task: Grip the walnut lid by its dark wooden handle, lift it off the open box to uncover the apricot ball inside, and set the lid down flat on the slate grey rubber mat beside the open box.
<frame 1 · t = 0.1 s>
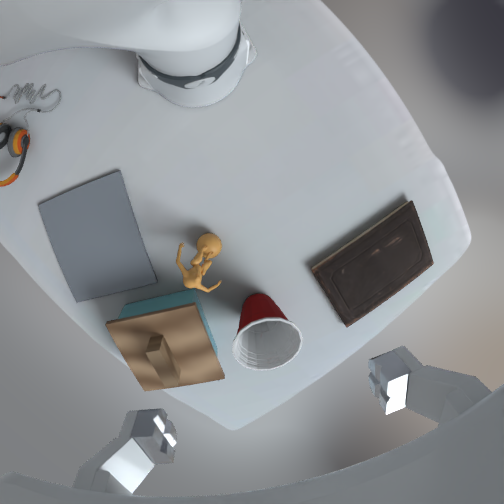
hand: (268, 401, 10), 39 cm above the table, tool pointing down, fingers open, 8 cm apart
open box: (171, 328, 53), on the table
hardcover book: (375, 263, 54), on the table
figurine: (205, 245, 48), on the table
plastic cup: (258, 307, 54), on the table
headphones: (19, 132, 37), on the table
lid: (166, 350, 47), point 7 cm above the table, touching open box
mat: (94, 241, 46), on the table
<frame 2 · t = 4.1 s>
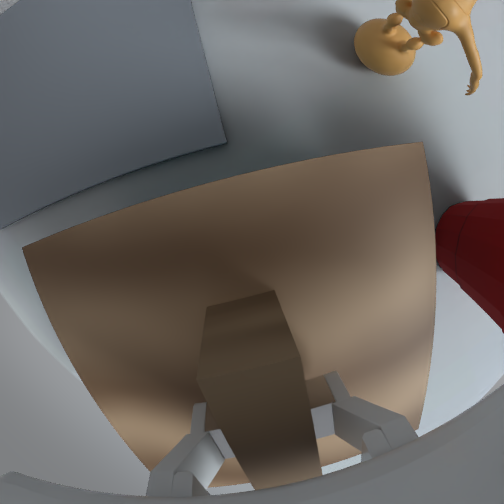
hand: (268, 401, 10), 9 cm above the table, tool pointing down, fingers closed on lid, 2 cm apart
figurine: (361, 63, 15), on the table
plastic cup: (457, 240, 19), on the table
lid: (262, 369, 12), point 7 cm above the table, touching open box, gripper
mat: (69, 56, 13), on the table
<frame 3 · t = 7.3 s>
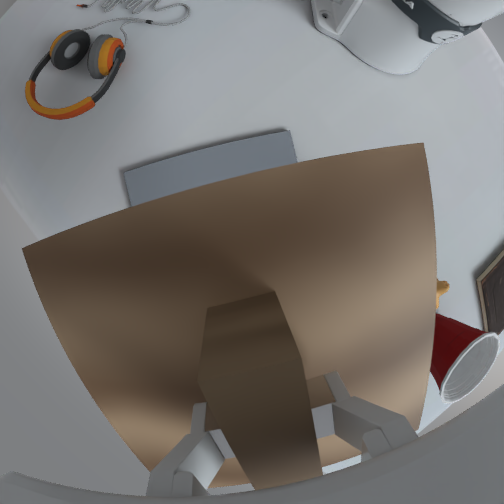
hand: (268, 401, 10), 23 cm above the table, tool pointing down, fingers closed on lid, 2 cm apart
figurine: (390, 251, 33), on the table
plastic cup: (426, 330, 37), on the table
headphones: (102, 51, 25), on the table
lid: (263, 370, 12), point 21 cm above the table, touching gripper
mat: (227, 240, 31), on the table
when the fingers open (4 cm above the table, at t = 10.4 s): lid drops 1 cm, resting on mat.
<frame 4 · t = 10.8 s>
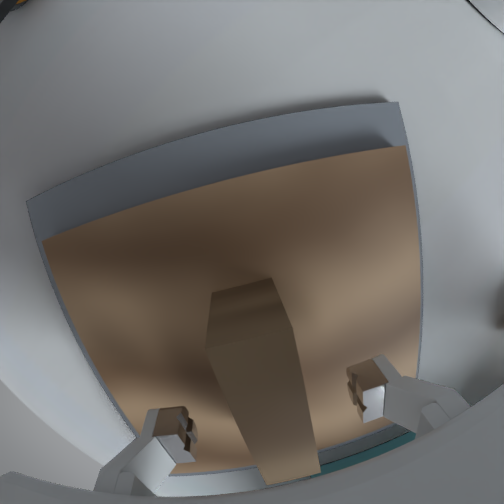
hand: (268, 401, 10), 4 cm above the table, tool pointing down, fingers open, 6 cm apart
open box: (385, 475, 19), on the table
lid: (261, 352, 13), point 1 cm above the table, touching mat
mat: (257, 345, 14), on the table
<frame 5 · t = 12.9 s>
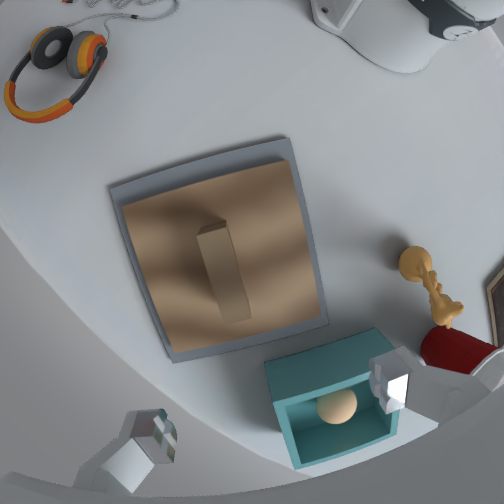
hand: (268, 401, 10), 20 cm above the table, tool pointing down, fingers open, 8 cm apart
open box: (328, 387, 34), on the table
figurine: (399, 264, 31), on the table
plastic cup: (434, 342, 35), on the table
headphones: (85, 49, 22), on the table
ball: (330, 392, 33), point 1 cm above the table, touching open box
lid: (225, 262, 28), point 1 cm above the table, touching mat
mat: (223, 260, 29), on the table
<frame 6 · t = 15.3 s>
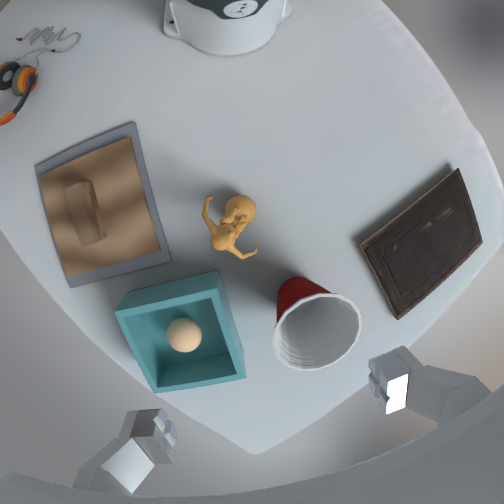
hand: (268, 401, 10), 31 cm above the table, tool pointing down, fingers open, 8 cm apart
open box: (187, 323, 43), on the table
hardcover book: (425, 241, 43), on the table
figurine: (234, 213, 39), on the table
plastic cup: (297, 295, 43), on the table
headphones: (28, 74, 30), on the table
ball: (186, 326, 42), point 1 cm above the table, touching open box
lid: (95, 210, 37), point 1 cm above the table, touching mat
mat: (96, 209, 37), on the table
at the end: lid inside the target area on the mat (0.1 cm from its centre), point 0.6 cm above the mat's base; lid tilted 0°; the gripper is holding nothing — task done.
